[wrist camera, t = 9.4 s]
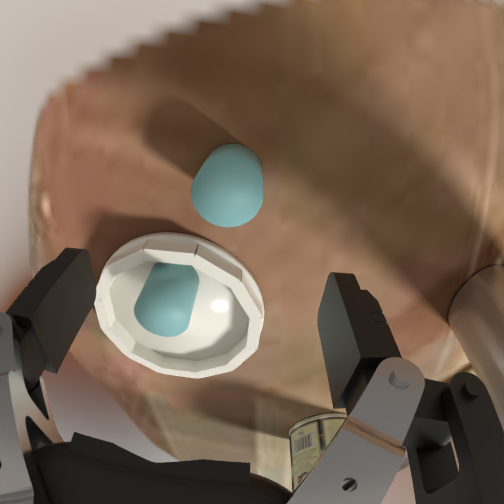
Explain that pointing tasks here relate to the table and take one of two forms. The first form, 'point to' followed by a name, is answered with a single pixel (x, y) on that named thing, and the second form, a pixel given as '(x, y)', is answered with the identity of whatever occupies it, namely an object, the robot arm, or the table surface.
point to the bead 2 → (229, 186)
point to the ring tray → (203, 314)
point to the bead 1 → (167, 299)
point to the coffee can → (311, 442)
